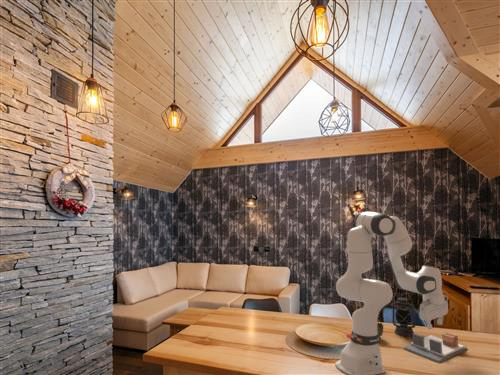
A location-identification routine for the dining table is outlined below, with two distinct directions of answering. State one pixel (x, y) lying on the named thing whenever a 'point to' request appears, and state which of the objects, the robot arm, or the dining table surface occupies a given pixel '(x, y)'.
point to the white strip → (442, 348)
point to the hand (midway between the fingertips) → (434, 326)
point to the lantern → (403, 317)
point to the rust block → (450, 340)
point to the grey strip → (423, 341)
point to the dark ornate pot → (380, 329)
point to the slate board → (431, 353)
